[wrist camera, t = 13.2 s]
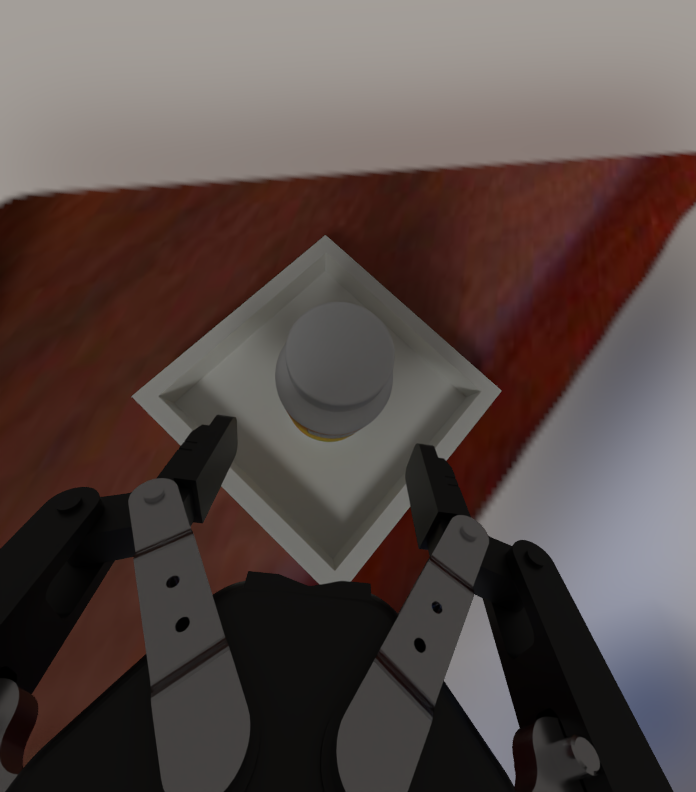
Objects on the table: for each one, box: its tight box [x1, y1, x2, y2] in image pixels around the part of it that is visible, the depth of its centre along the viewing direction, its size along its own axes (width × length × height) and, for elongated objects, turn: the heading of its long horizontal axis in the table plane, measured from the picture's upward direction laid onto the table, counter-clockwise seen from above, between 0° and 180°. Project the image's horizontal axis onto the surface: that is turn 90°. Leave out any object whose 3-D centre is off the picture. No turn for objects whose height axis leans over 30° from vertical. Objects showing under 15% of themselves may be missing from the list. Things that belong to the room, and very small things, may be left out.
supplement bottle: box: [275, 302, 395, 442], centre depth 15 cm, size 5×5×10 cm
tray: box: [132, 235, 501, 585], centre depth 19 cm, size 16×16×3 cm
